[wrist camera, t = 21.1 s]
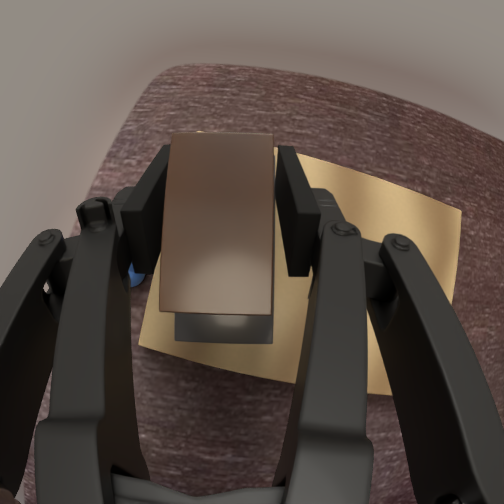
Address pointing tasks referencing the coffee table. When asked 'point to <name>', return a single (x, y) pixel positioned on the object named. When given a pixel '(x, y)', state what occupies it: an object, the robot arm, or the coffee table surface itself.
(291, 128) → the coffee table surface
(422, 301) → the robot arm
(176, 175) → the eraser
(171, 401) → the coffee table surface
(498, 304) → the coffee table surface
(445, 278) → the board
